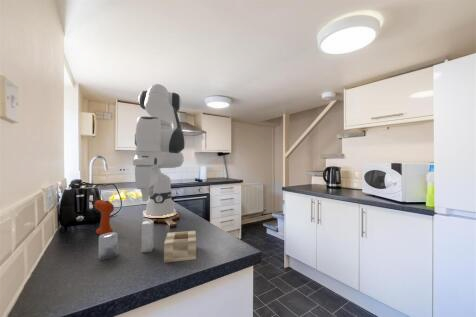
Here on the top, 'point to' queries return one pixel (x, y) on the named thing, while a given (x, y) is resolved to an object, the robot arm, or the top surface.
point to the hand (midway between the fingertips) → (148, 198)
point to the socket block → (180, 246)
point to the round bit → (108, 246)
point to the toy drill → (104, 215)
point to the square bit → (147, 236)
